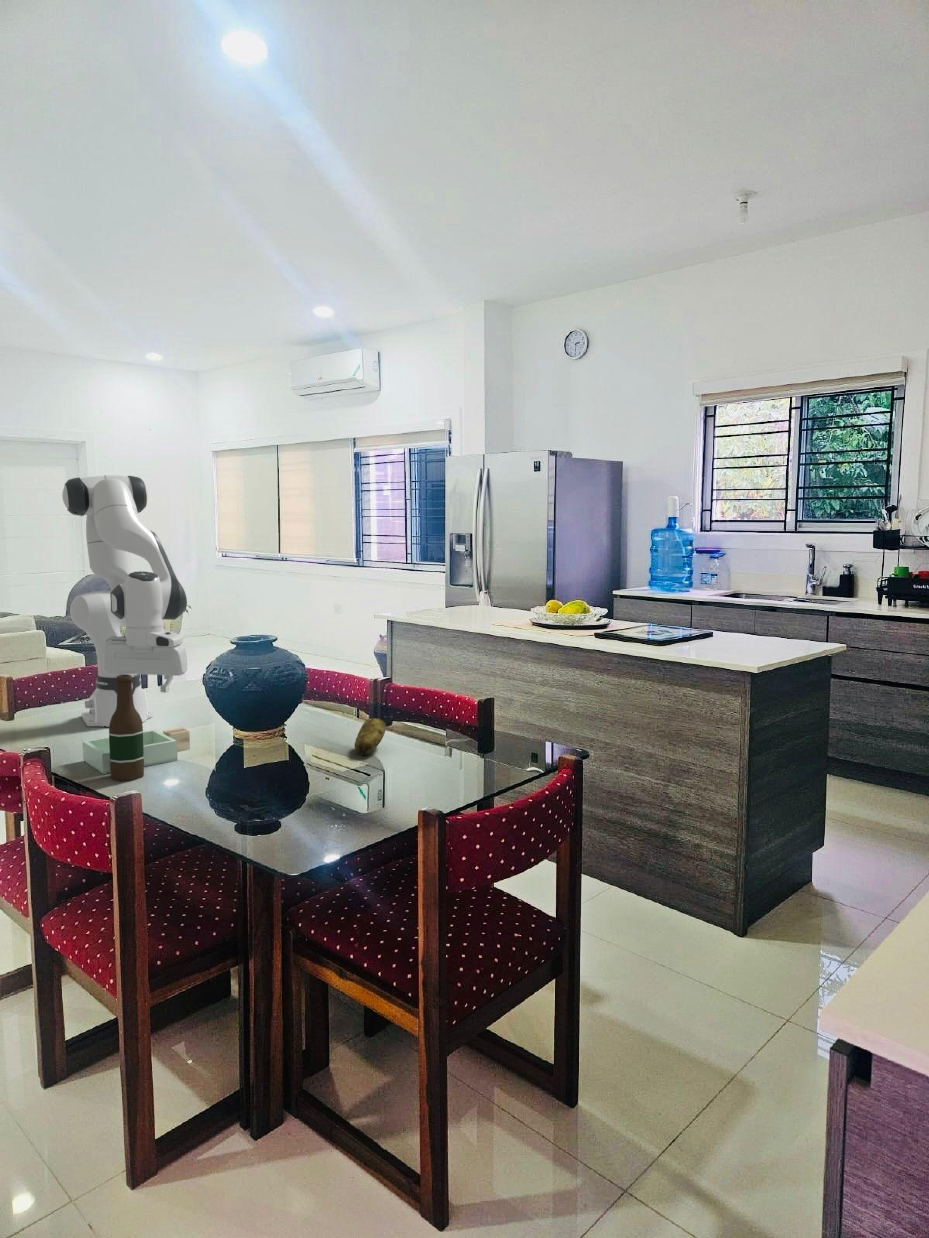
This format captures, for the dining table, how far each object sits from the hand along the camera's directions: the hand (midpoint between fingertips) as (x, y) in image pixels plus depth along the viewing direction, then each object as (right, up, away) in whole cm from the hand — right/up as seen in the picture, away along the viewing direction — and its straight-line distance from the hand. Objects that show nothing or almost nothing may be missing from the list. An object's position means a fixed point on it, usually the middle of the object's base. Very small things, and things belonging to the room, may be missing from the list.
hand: (146, 691), depth 205 cm
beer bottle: (+1, -19, -15) cm, 24 cm away
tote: (-3, -17, -3) cm, 17 cm away
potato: (+55, -17, +9) cm, 58 cm away
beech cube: (+5, -16, +8) cm, 19 cm away
